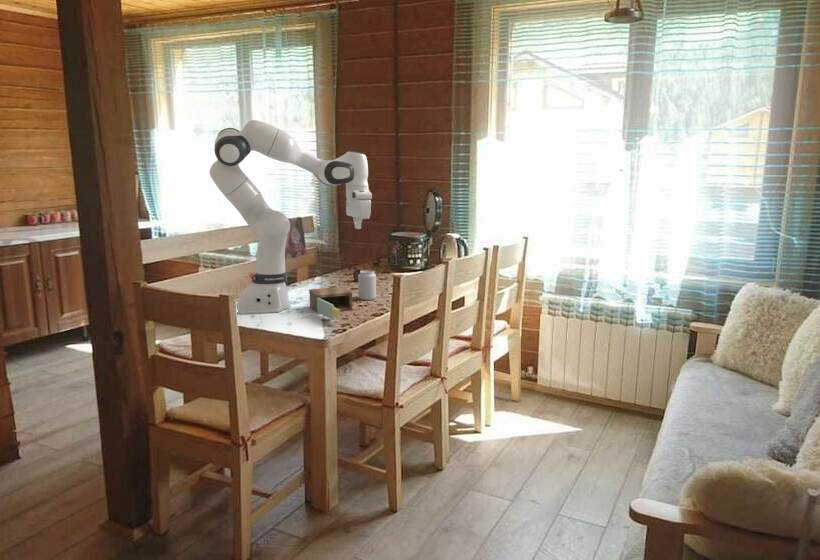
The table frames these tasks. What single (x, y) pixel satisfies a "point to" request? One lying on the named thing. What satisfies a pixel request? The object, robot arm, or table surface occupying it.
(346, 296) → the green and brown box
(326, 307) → the green yellow-tipped stick
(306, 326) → the table surface
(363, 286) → the can
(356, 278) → the compass
